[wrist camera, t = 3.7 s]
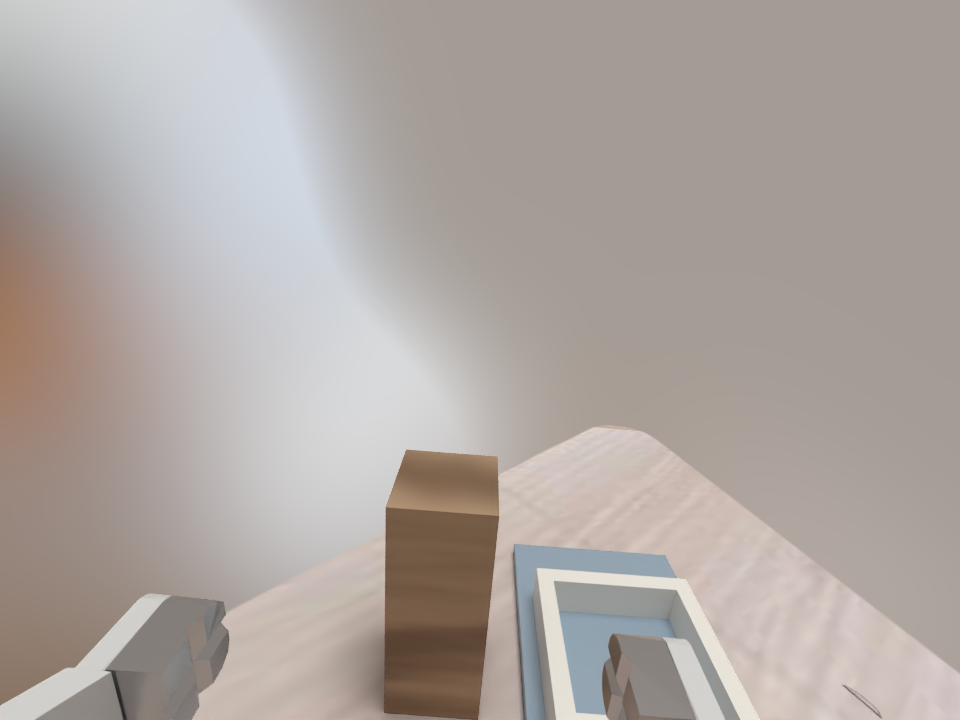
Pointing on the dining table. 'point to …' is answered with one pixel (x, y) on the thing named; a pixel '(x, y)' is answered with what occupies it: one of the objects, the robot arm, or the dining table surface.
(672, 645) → the robot arm
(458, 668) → the walnut block
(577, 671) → the cradle
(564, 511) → the dining table surface
